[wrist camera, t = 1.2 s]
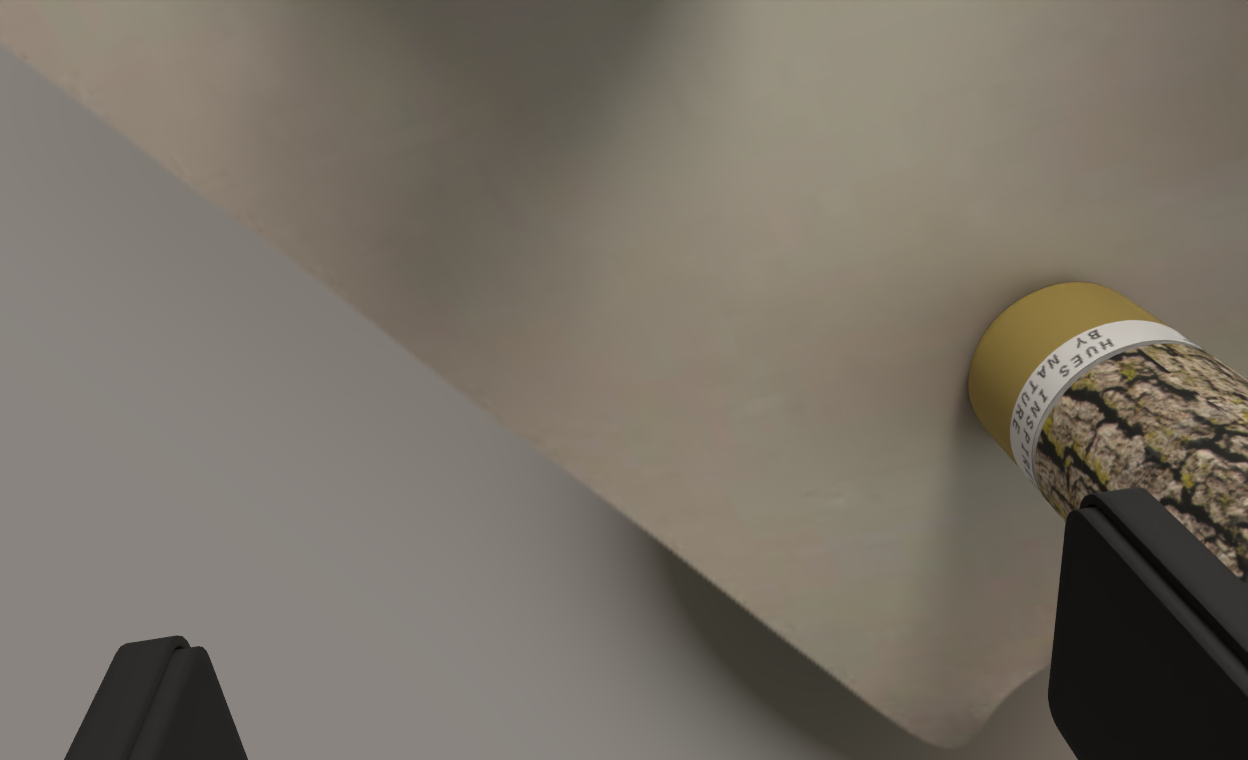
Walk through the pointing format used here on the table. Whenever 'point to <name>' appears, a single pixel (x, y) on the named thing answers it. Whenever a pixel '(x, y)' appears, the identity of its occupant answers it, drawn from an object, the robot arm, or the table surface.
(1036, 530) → the table surface
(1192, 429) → the paper tube
